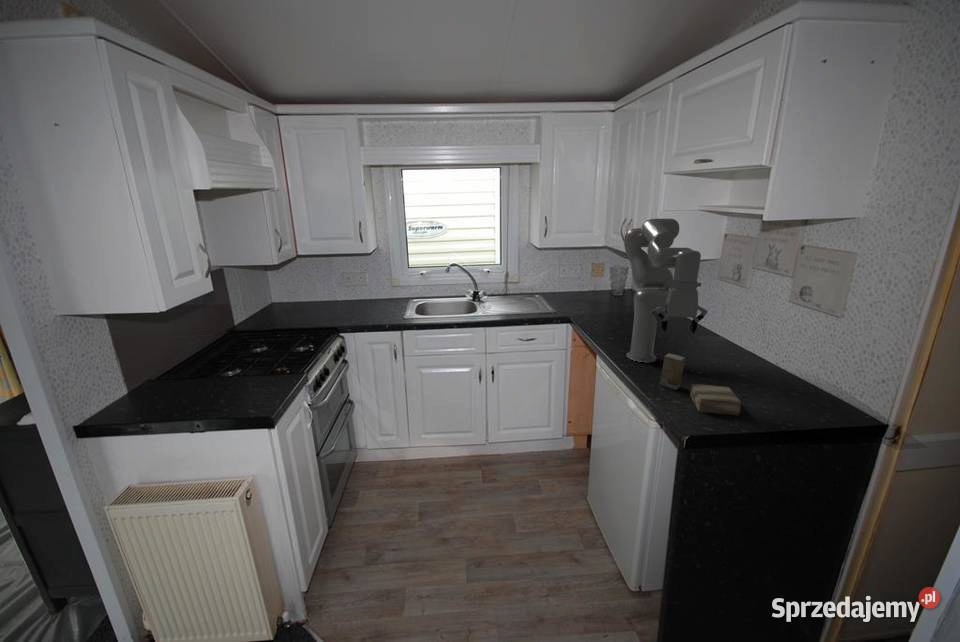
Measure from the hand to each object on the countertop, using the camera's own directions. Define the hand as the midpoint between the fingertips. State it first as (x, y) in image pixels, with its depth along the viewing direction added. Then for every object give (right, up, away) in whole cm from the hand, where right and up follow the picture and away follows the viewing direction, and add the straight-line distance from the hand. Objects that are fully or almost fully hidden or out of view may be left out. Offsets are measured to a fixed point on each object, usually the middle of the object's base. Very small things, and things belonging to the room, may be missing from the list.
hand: (678, 331), depth 148 cm
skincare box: (0, -21, +7) cm, 22 cm away
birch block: (+8, -26, -8) cm, 28 cm away
